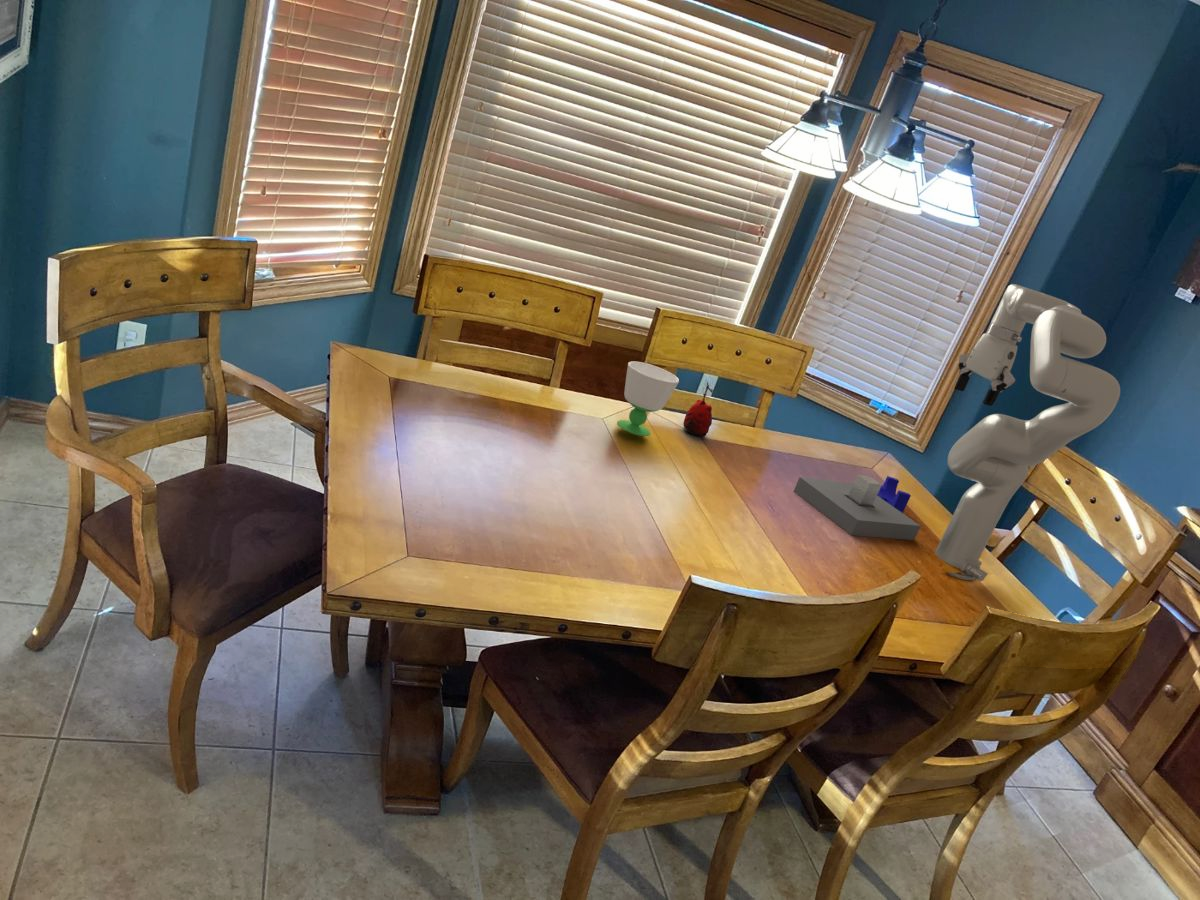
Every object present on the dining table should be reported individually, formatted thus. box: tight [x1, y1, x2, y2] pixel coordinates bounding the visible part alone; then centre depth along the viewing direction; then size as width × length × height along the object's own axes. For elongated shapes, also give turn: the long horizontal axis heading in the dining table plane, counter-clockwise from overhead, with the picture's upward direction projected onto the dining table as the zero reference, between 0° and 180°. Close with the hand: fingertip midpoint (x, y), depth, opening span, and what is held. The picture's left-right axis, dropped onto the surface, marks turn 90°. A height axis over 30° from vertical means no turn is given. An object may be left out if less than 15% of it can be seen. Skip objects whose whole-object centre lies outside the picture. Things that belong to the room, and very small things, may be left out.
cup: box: [616, 360, 680, 437], centre depth 240 cm, size 14×14×16 cm
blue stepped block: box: [877, 475, 912, 514], centre depth 252 cm, size 12×4×6 cm, turn 179°
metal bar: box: [847, 474, 883, 507], centre depth 232 cm, size 4×4×10 cm
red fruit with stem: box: [682, 381, 714, 437], centre depth 255 cm, size 8×7×15 cm
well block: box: [793, 476, 922, 541], centre depth 233 cm, size 22×22×4 cm
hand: (972, 397), depth 241 cm, fingers open, 9 cm apart
